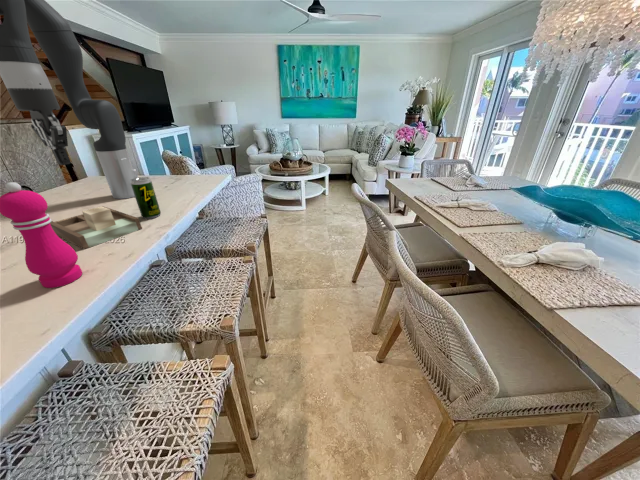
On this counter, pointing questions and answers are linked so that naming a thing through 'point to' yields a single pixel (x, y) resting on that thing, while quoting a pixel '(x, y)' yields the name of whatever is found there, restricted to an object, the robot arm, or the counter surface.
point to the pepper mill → (40, 237)
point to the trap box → (88, 237)
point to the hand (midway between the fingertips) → (64, 164)
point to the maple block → (99, 218)
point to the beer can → (145, 197)
